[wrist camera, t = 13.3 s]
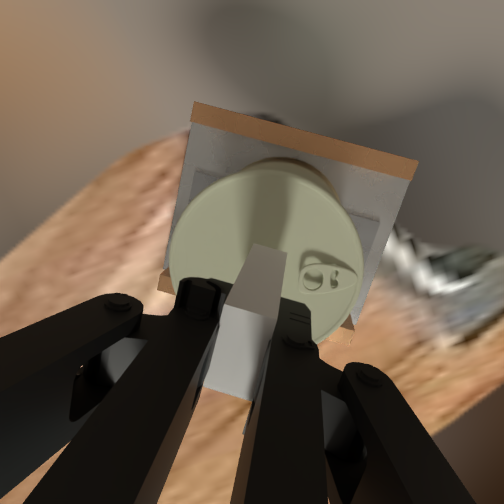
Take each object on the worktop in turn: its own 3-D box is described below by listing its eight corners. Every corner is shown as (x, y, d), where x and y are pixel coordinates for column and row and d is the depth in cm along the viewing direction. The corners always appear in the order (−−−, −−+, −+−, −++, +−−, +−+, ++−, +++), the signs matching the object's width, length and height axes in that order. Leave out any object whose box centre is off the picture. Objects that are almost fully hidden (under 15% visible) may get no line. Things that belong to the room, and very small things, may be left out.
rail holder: (167, 265, 33) (143, 286, 28) (199, 103, 29) (178, 96, 24) (354, 319, 32) (363, 350, 27) (413, 160, 28) (435, 164, 23)
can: (334, 284, 30) (353, 374, 18) (216, 273, 31) (164, 351, 19) (349, 160, 27) (382, 176, 16) (219, 153, 28) (162, 161, 17)
